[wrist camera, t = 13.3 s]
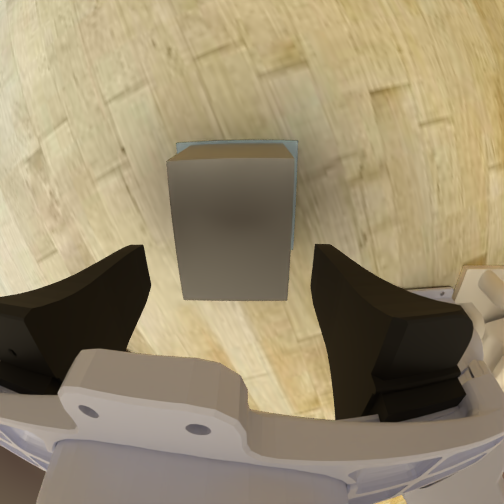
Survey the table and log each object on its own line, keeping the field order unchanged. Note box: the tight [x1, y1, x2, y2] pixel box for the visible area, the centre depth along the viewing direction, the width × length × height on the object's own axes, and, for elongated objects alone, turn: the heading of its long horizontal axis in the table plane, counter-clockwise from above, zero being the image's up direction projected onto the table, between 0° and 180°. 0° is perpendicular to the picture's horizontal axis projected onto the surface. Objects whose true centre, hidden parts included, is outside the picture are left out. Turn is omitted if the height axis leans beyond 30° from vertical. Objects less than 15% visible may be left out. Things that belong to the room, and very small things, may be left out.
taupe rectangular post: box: [166, 143, 295, 301], centre depth 18 cm, size 8×6×6 cm
